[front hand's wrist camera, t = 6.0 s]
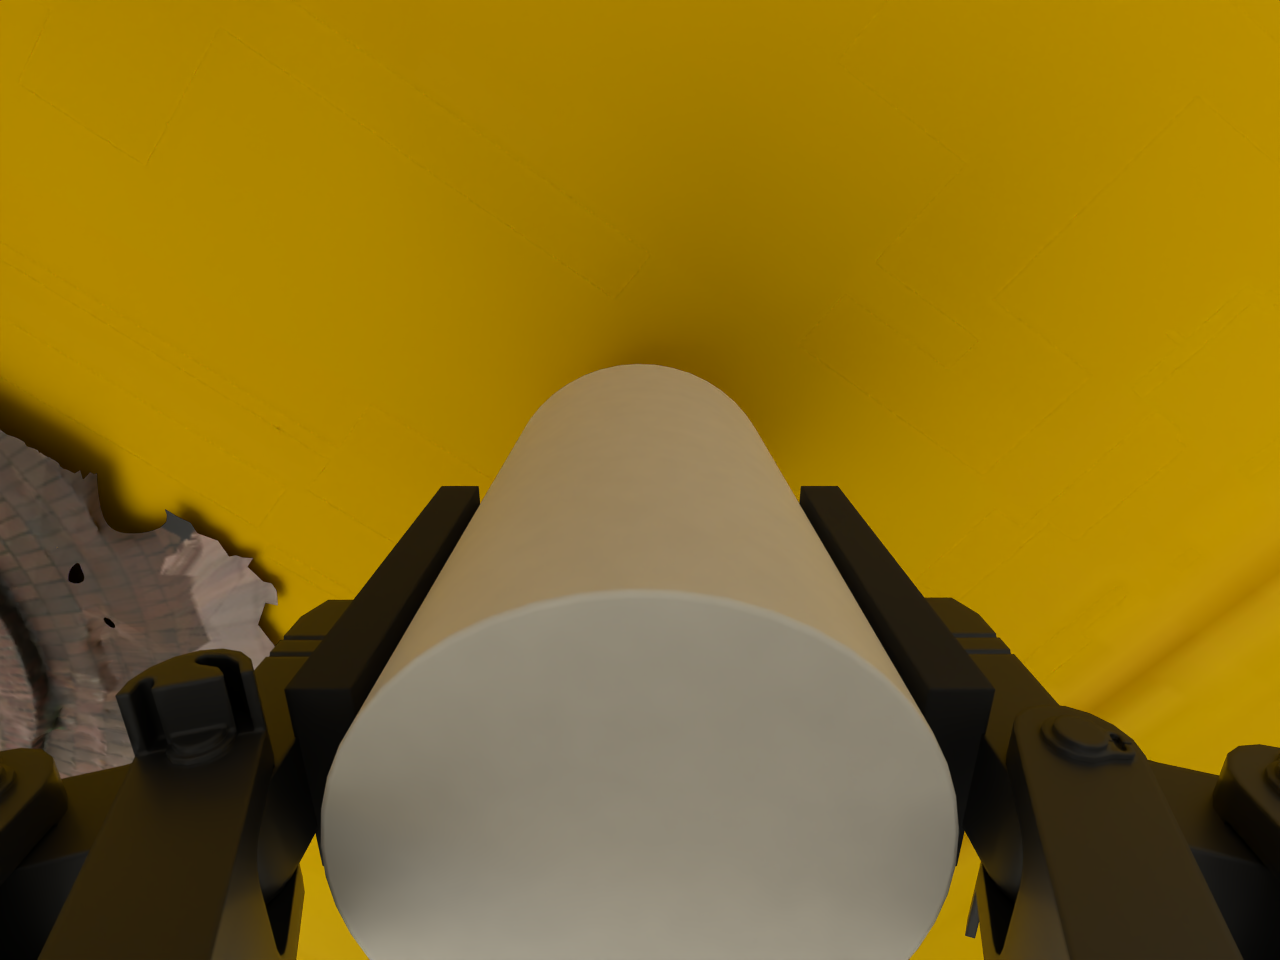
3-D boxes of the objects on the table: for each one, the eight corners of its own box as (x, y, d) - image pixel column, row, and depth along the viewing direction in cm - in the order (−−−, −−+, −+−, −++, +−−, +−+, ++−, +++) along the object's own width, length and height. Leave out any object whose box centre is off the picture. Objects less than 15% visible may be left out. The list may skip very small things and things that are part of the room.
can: (824, 488, 17) (1092, 863, 7) (644, 649, 19) (649, 1141, 9) (634, 304, 15) (623, 441, 5) (456, 497, 17) (192, 881, 7)
